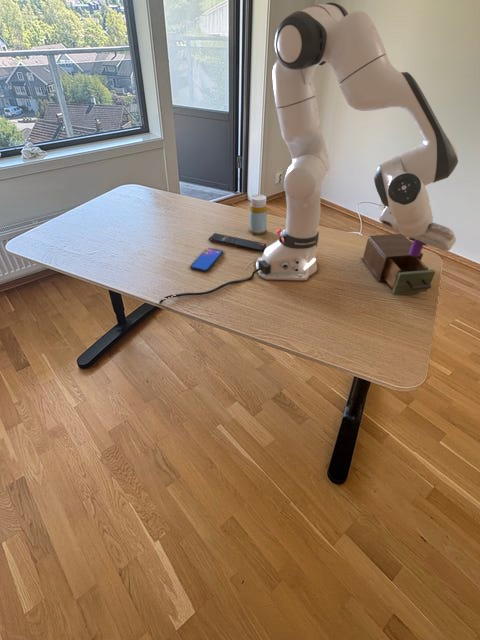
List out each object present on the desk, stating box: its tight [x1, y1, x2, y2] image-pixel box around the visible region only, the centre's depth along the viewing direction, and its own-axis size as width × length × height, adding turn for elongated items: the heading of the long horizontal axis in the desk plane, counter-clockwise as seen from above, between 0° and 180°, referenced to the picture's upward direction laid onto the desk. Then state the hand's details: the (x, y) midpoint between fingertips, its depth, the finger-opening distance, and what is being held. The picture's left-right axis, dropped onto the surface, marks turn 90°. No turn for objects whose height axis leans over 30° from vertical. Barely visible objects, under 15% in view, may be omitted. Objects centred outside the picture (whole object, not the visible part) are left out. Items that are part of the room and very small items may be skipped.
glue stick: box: [409, 239, 424, 257], centre depth 103 cm, size 3×3×8 cm
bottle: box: [249, 194, 268, 236], centre depth 145 cm, size 7×7×15 cm
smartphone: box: [190, 247, 224, 272], centre depth 132 cm, size 7×1×15 cm
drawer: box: [383, 257, 436, 296], centre depth 114 cm, size 18×12×8 cm, turn 7°
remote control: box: [208, 232, 267, 252], centre depth 141 cm, size 5×24×1 cm, turn 65°
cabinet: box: [362, 233, 424, 282], centre depth 123 cm, size 15×13×10 cm
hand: (419, 240), depth 103 cm, fingers closed on glue stick, 3 cm apart
